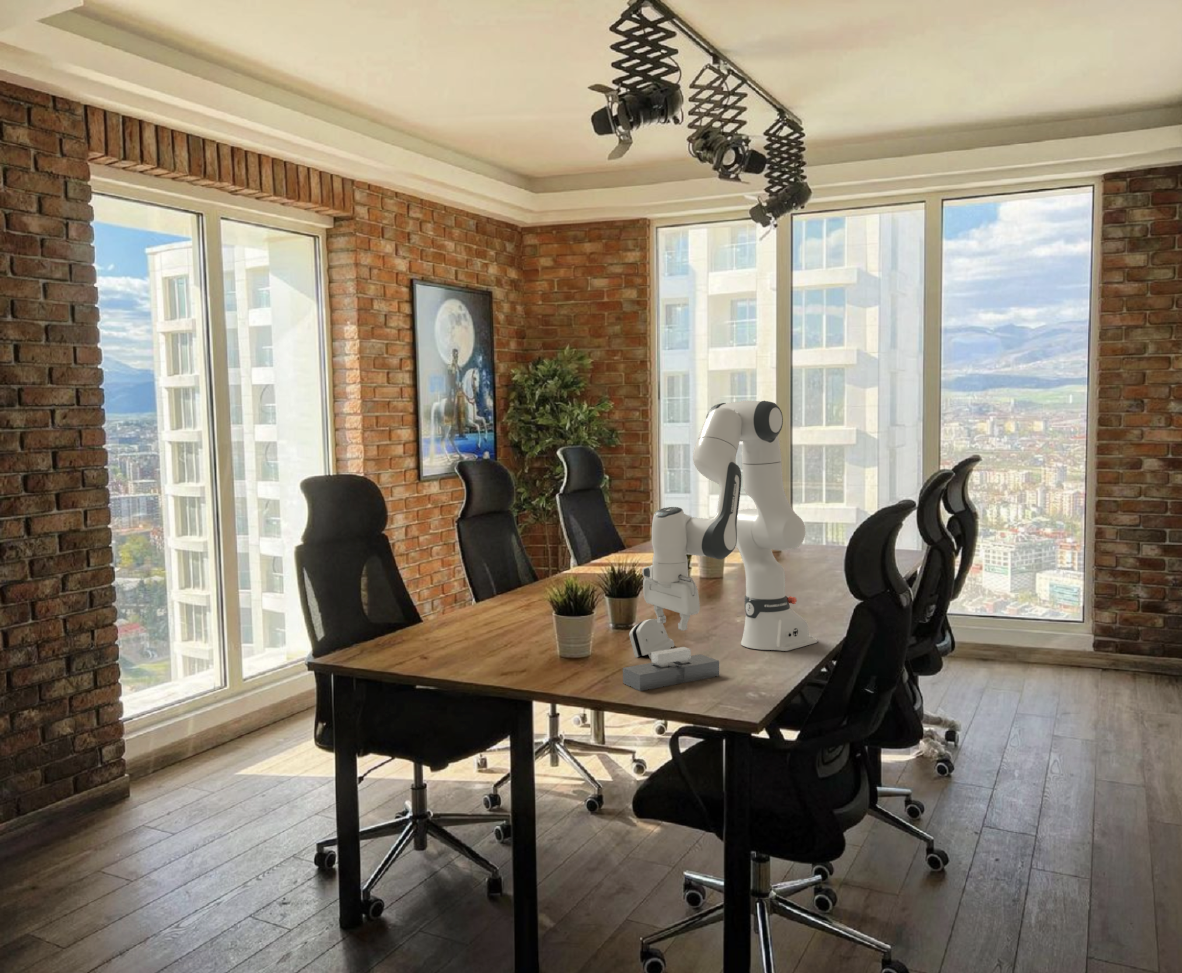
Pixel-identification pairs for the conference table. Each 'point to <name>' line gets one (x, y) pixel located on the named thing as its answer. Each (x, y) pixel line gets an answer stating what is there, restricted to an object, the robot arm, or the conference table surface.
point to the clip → (671, 657)
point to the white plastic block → (649, 638)
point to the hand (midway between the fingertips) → (672, 626)
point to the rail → (670, 673)
